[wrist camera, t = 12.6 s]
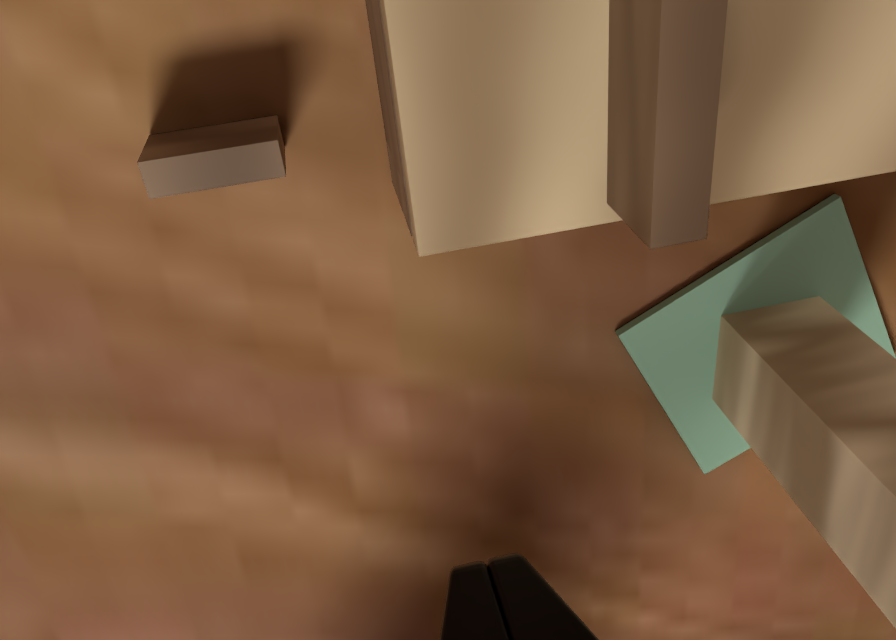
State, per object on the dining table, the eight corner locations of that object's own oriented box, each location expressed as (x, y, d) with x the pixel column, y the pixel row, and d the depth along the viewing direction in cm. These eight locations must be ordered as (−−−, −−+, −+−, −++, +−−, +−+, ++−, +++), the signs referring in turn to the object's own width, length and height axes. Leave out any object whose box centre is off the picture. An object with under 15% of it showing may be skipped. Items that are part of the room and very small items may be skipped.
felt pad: (701, 469, 29) (704, 474, 29) (614, 331, 25) (618, 336, 25) (891, 357, 28) (897, 361, 28) (834, 193, 24) (840, 196, 24)
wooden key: (712, 398, 27) (1005, 765, 16) (721, 315, 25) (1059, 667, 14) (803, 379, 28) (1150, 725, 17) (819, 296, 26) (1221, 624, 15)
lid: (413, 241, 18) (437, 310, 15) (347, -232, 13) (367, -253, 10) (993, 138, 19) (1108, 184, 17) (1125, -317, 15) (1316, -354, 12)
